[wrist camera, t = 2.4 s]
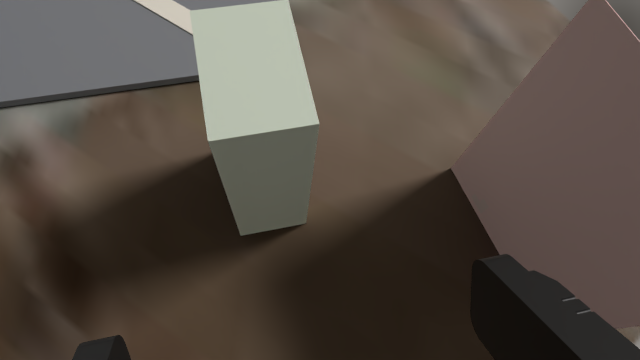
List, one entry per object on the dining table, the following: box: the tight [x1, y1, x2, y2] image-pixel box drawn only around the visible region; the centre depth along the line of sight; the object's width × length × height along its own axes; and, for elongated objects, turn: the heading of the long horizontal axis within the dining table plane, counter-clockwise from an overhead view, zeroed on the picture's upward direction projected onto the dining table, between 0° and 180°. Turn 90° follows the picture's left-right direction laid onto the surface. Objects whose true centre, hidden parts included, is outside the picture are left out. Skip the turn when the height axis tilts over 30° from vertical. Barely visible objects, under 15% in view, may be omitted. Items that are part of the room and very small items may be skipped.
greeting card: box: [451, 0, 640, 329], centre depth 21 cm, size 11×7×15 cm, turn 168°
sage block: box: [190, 0, 319, 236], centre depth 22 cm, size 4×6×12 cm, turn 13°
